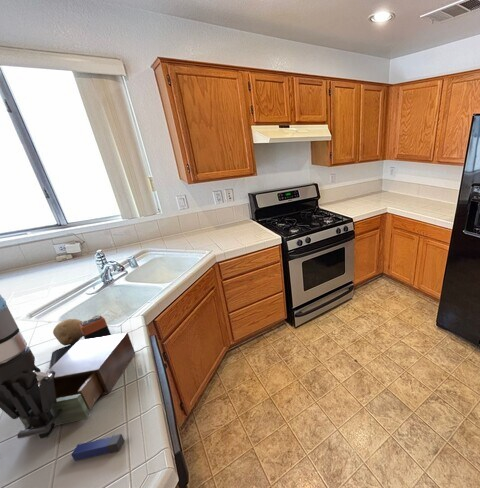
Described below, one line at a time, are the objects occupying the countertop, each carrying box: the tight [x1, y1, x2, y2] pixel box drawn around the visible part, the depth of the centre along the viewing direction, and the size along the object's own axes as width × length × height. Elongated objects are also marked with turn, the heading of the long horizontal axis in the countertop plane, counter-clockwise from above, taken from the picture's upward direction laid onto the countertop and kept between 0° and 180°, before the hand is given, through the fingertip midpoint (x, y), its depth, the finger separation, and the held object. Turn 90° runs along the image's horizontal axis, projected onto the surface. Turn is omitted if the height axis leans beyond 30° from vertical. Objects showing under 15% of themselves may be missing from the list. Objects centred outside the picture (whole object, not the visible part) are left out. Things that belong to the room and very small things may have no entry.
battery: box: [79, 314, 112, 340], centre depth 98 cm, size 4×7×10 cm, turn 144°
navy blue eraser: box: [71, 433, 125, 462], centre depth 61 cm, size 9×2×2 cm, turn 102°
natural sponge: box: [52, 318, 84, 346], centre depth 98 cm, size 9×9×10 cm
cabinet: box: [45, 332, 136, 396], centre depth 81 cm, size 17×15×9 cm
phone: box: [48, 342, 77, 370], centre depth 91 cm, size 8×1×15 cm
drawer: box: [16, 372, 104, 439], centre depth 70 cm, size 21×13×7 cm, turn 12°
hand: (48, 432), depth 64 cm, fingers closed
